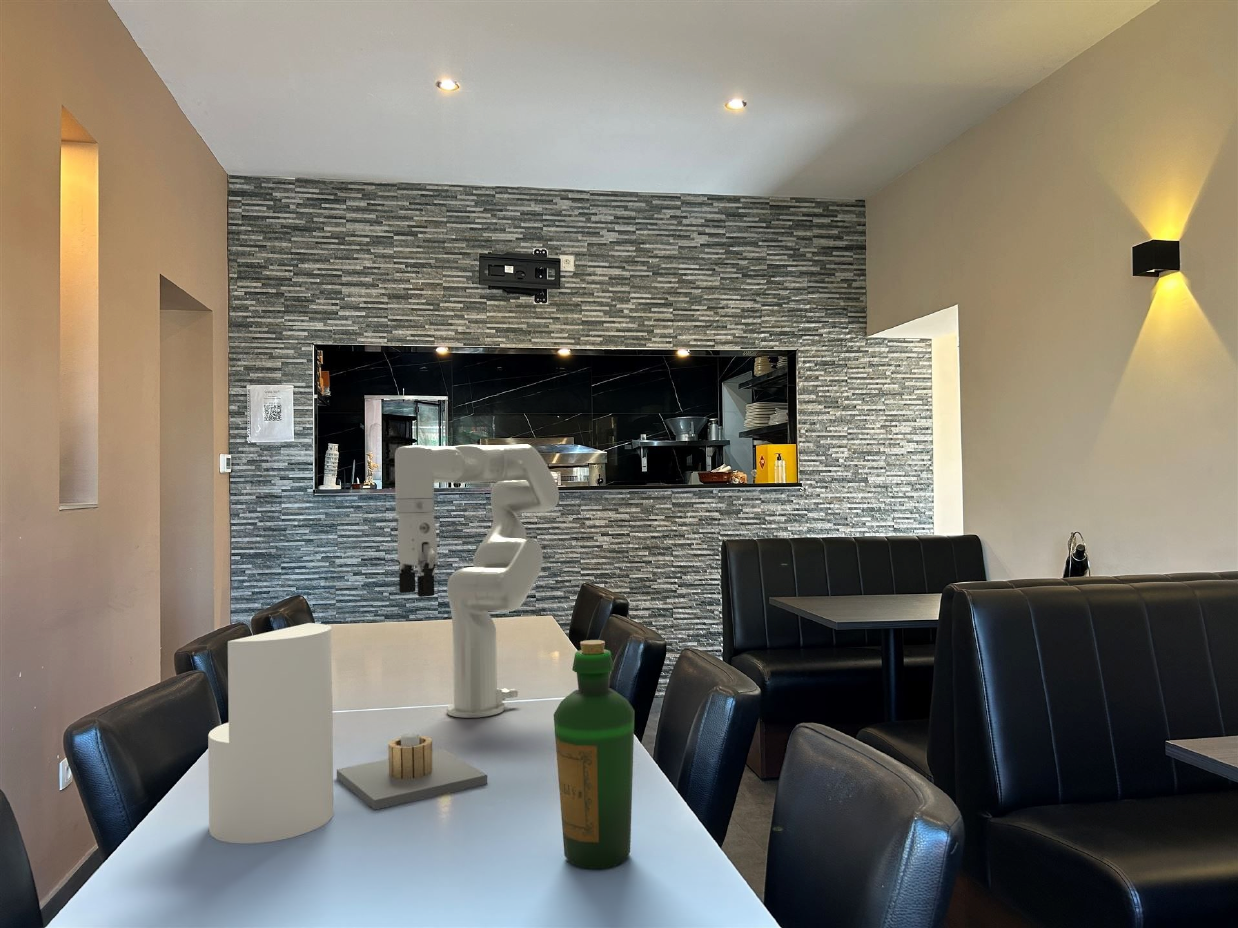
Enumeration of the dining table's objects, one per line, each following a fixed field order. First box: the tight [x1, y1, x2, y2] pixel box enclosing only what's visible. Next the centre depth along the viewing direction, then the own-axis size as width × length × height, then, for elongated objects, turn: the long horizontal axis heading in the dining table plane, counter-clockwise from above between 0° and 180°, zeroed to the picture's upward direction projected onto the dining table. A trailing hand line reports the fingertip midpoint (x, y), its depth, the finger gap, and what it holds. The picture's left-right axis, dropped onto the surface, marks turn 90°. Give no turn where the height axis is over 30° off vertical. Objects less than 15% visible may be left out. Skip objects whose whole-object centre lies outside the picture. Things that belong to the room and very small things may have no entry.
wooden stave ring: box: [388, 735, 433, 779], centre depth 147 cm, size 7×7×5 cm
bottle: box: [553, 639, 636, 870], centre depth 115 cm, size 11×11×28 cm
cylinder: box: [207, 622, 335, 845], centre depth 131 cm, size 17×17×28 cm
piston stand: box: [336, 733, 488, 811], centre depth 147 cm, size 19×19×8 cm
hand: (416, 594), depth 174 cm, fingers open, 9 cm apart
